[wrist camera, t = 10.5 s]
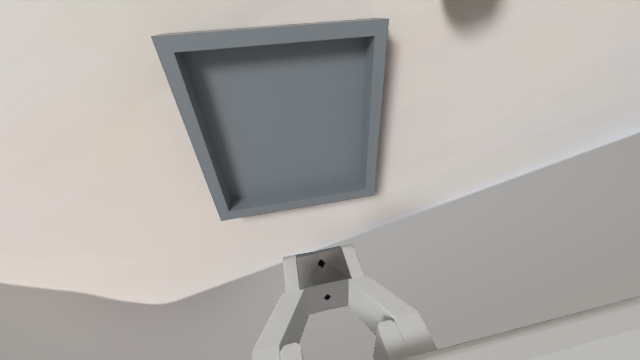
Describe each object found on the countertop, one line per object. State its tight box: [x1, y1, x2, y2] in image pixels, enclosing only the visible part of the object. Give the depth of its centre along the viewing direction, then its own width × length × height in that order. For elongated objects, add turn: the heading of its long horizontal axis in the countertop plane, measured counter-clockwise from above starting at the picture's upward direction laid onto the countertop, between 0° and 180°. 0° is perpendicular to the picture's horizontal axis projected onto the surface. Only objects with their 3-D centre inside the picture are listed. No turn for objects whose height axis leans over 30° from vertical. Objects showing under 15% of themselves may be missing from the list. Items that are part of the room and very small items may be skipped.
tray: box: [151, 18, 389, 221], centre depth 22 cm, size 16×16×2 cm
